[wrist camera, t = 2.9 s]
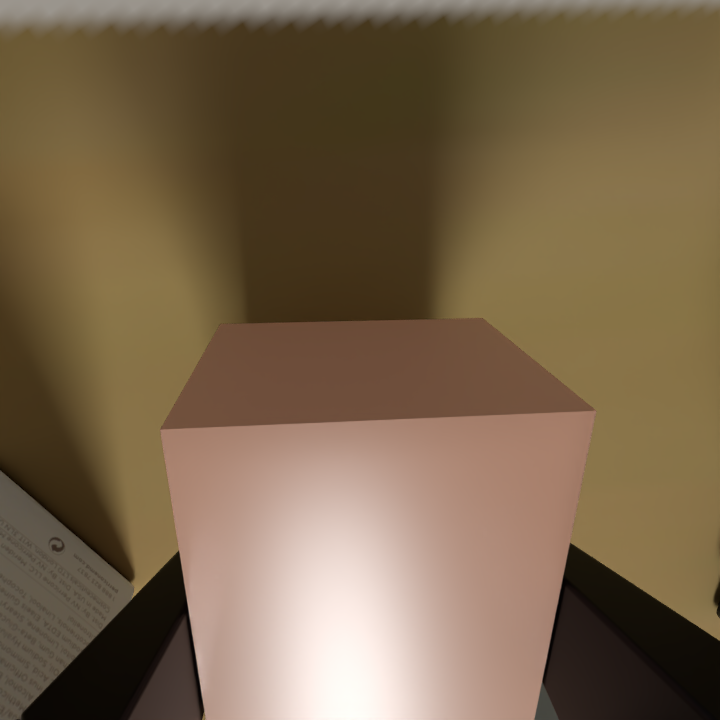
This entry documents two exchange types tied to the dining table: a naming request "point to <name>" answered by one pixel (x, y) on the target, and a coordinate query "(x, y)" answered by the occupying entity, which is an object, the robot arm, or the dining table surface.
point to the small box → (46, 598)
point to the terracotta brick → (373, 519)
